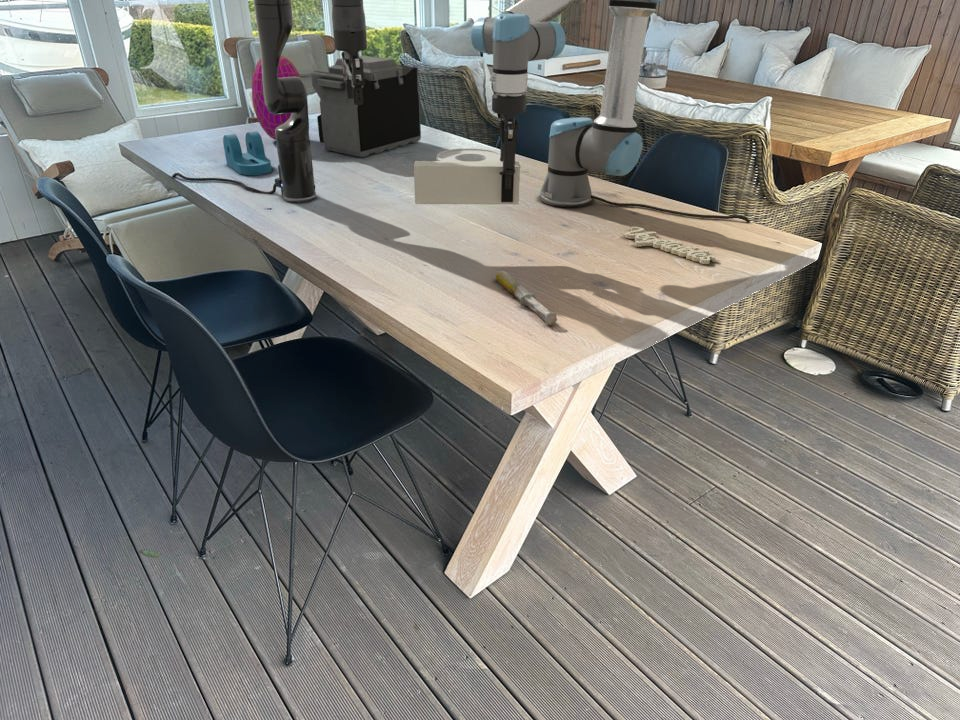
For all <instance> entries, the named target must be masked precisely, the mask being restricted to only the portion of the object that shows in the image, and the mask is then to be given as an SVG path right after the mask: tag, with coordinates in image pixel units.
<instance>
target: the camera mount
mask: <svg viewBox="0 0 960 720" xmlns="http://www.w3.org/2000/svg"><path fill="white" fill-rule="evenodd" d="M222 140H223V141H222V143H223V149H224V150H223V151H224V156H225V161H226V165H227V166H228V167H230V168H231V169H232V170H234V171H236V172H237V173H238V174H239V175H244V176H260V175H265V174H268V173H271V172H272V164H271V159H270V158H268V157H267V156H266V153H265V145H264V141H263V139H262V136H261V134H260V132H258V131H247V132H246V133H245V146H246V152H243V151H242V150H243V149H242V146H241V142H240V140H239V138H238V135H236V134H235V133H231V134H224V135H223V138H222Z"/></svg>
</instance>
